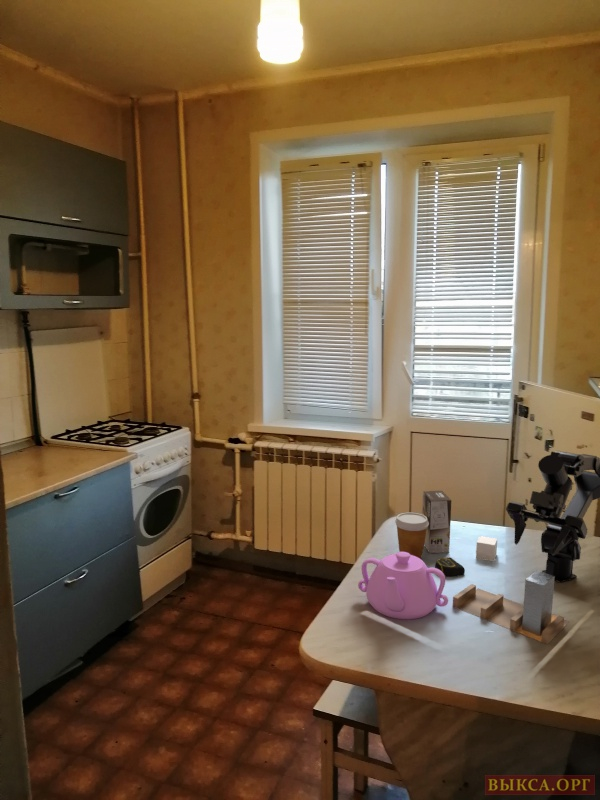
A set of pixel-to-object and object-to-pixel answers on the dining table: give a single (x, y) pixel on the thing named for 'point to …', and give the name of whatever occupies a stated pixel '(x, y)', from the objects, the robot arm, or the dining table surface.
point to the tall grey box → (538, 602)
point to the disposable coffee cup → (411, 533)
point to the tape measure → (449, 567)
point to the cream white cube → (486, 548)
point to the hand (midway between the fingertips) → (533, 549)
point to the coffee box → (437, 521)
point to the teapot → (402, 586)
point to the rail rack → (502, 612)
